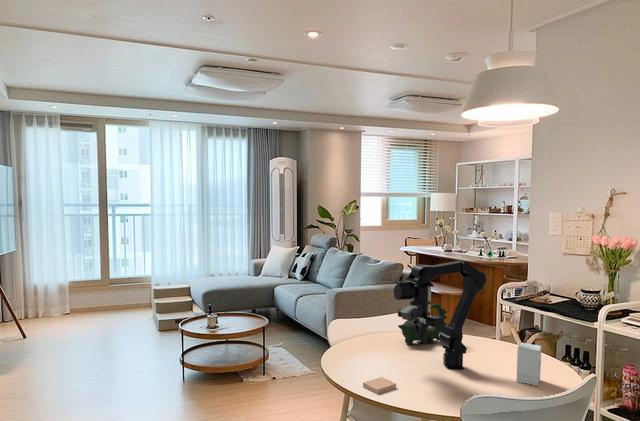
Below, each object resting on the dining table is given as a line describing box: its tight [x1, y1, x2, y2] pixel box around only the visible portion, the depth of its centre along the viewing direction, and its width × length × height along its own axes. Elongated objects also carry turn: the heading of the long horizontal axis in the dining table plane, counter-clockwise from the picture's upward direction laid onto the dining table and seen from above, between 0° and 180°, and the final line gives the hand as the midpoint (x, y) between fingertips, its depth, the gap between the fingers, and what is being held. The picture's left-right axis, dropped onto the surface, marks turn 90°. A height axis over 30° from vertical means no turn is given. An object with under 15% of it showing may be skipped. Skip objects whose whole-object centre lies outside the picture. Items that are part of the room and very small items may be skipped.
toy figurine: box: [397, 302, 448, 346], centre depth 209 cm, size 9×19×25 cm
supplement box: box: [516, 342, 542, 386], centre depth 166 cm, size 7×7×13 cm
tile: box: [362, 376, 397, 395], centre depth 158 cm, size 2×7×9 cm
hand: (419, 339), depth 174 cm, fingers closed
